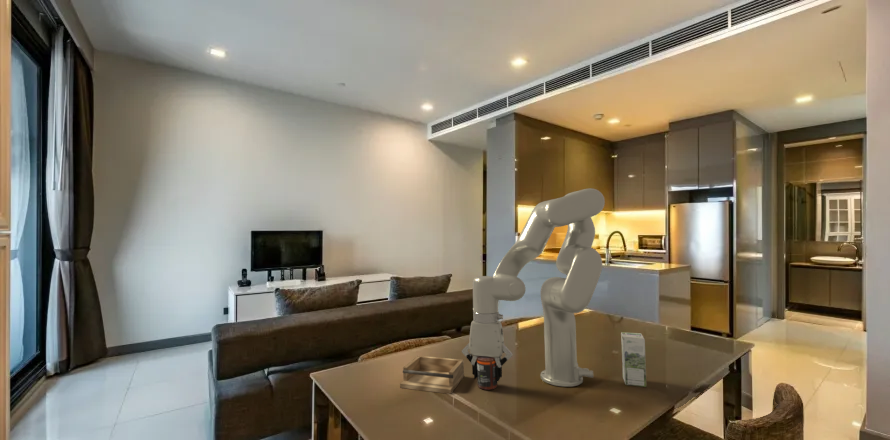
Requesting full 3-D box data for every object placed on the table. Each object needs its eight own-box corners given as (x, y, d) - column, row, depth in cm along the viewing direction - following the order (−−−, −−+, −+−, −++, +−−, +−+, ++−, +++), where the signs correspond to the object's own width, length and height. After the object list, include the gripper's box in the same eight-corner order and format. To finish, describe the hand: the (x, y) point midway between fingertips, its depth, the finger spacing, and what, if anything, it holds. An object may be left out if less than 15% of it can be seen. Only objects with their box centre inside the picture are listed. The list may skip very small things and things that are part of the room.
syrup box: (643, 380, 111) (641, 332, 112) (647, 387, 106) (644, 337, 106) (622, 378, 113) (620, 331, 114) (625, 385, 108) (623, 336, 108)
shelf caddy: (463, 376, 117) (463, 359, 117) (450, 393, 104) (450, 375, 104) (418, 371, 122) (417, 355, 122) (400, 387, 109) (399, 369, 109)
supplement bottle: (497, 382, 111) (496, 345, 112) (497, 391, 105) (496, 351, 106) (477, 382, 112) (476, 345, 112) (477, 390, 106) (476, 351, 106)
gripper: (516, 316, 110) (517, 376, 109) (461, 313, 116) (462, 371, 115) (512, 321, 103) (514, 386, 102) (454, 318, 109) (456, 380, 108)
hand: (487, 377), depth 109 cm, fingers closed on supplement bottle, 6 cm apart
